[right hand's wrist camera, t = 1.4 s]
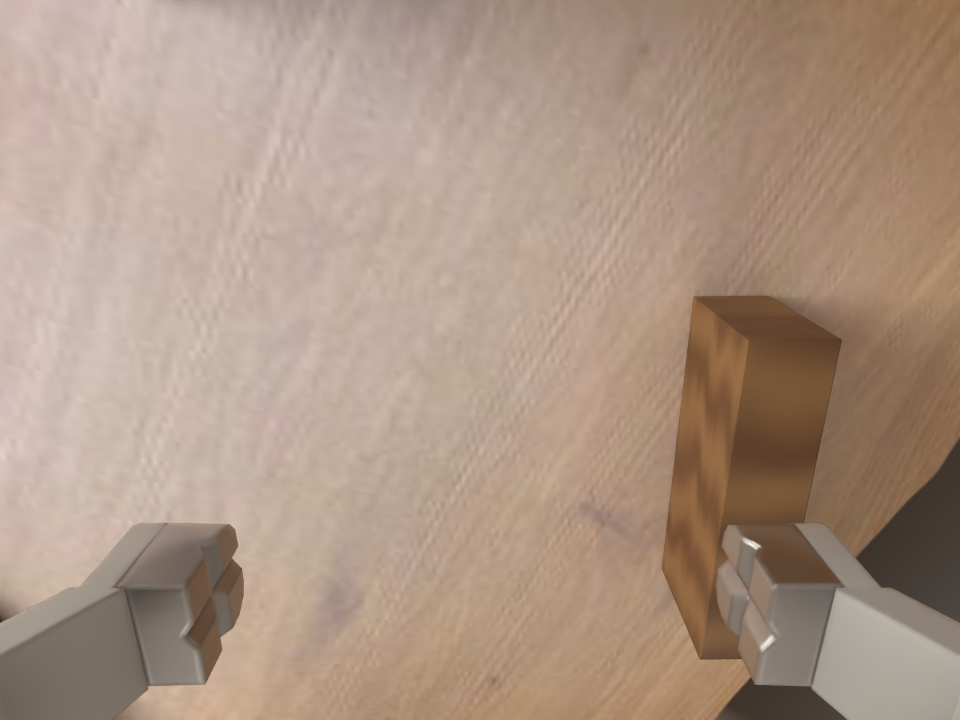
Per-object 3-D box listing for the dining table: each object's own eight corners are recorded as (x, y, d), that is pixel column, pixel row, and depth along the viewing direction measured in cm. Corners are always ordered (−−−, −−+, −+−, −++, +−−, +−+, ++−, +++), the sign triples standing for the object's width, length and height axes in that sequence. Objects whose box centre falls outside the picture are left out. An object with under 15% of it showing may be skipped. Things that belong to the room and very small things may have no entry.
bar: (693, 296, 44) (748, 340, 35) (768, 295, 44) (842, 339, 35) (661, 569, 52) (699, 660, 43) (725, 568, 52) (775, 658, 43)
